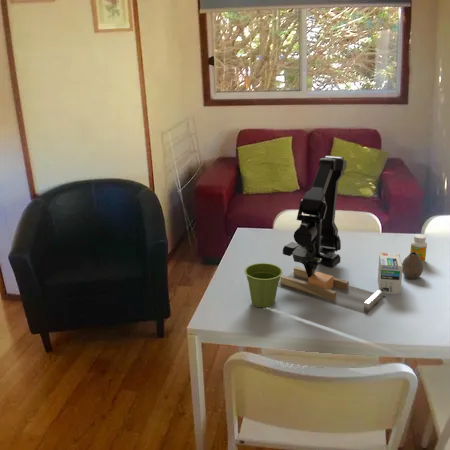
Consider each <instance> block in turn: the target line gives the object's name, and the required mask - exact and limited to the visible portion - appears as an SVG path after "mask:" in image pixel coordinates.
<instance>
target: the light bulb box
mask: <svg viewBox="0 0 450 450" xmlns="http://www.w3.org/2000/svg"><path fill="white" fill-rule="evenodd" d="M378 254H379V258H378V269H377V270H378V272H377V285H378V290H380V291H382V294H385V295H386V294H388V295H401V288H402V278H403V277H402V276H403V272H402V270H403V265H402V263H403V262H402V259H401V255H400V253H396V252H395V253H394V252H393V253H392V252H379V253H378Z"/></svg>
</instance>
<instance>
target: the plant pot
mask: <svg viewBox="0 0 450 450" xmlns="http://www.w3.org/2000/svg"><path fill="white" fill-rule="evenodd" d="M244 274H245V276H246V278H247V279H246V280H247V282H248V287H249V294H250V300H251V304H252V305H253V306H255V307H257V308H265V309H267V308H270V307H271V305H273V304H275V301H276V297H277V291H278V287H279V286H278V282H280V278H281V276H283V269H282V268H281V267H280V266H278V265H276V264H273V263H268V262H260V263H253V264H249V265H248V266H246V267H245V268H244Z"/></svg>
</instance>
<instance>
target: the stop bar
mask: <svg viewBox="0 0 450 450" xmlns="http://www.w3.org/2000/svg"><path fill="white" fill-rule="evenodd" d="M373 293H374V294H373V295H372V296H371V297H370V298H369V299H367V300H366V301H365V302H364V310H366V311H369V310H370V309H371V308H372V307H373V306H374V305H375V304H376V303H377V302H378V301H379V300H380V299H381V298H382V295H383V293H382V291H380V290H379V289H377V290H376V291H375V292H373Z"/></svg>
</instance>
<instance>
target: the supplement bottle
mask: <svg viewBox="0 0 450 450" xmlns="http://www.w3.org/2000/svg"><path fill="white" fill-rule="evenodd" d="M426 237H427V236H426V235H424V234H419V233H418V234H417V233H416V234H414V236H413V240H412V241H411V243H410V253H411V252H416V253H417V254H418V256H419V257H420V259H421V260H422V263H423V262H424V263H426V256H427V250H428V249H427V248H428V243H427V242H426V239H427V238H426ZM410 253H409V254H410ZM424 263H423V264H424Z"/></svg>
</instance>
